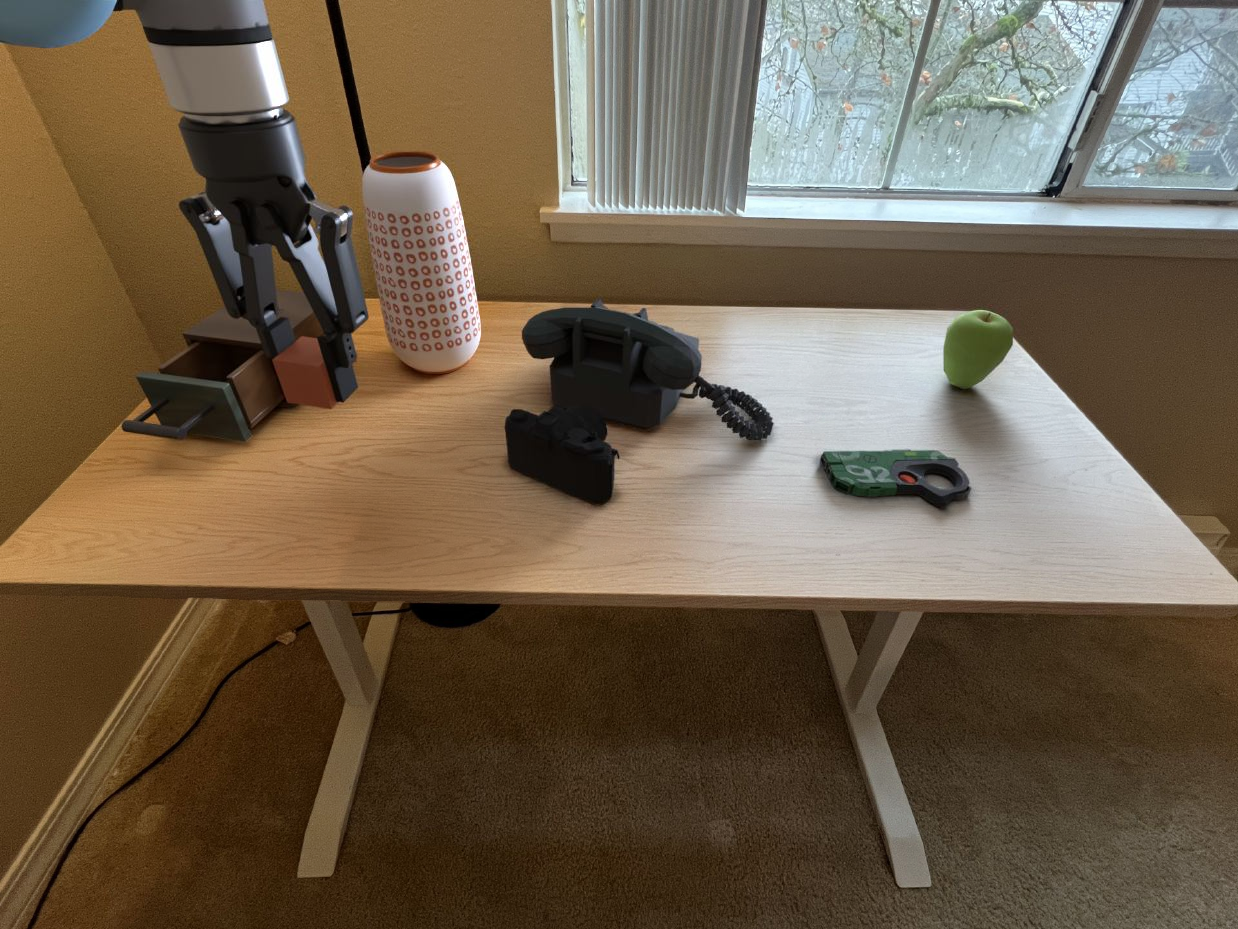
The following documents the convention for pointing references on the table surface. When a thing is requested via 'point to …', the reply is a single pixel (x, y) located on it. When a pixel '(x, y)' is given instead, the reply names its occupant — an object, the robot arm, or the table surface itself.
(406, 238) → the white patterned cylinder
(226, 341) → the cabinet
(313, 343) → the block
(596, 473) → the film camera
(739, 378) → the table surface
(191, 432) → the drawer
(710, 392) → the rotary telephone
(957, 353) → the apple
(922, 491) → the gun
